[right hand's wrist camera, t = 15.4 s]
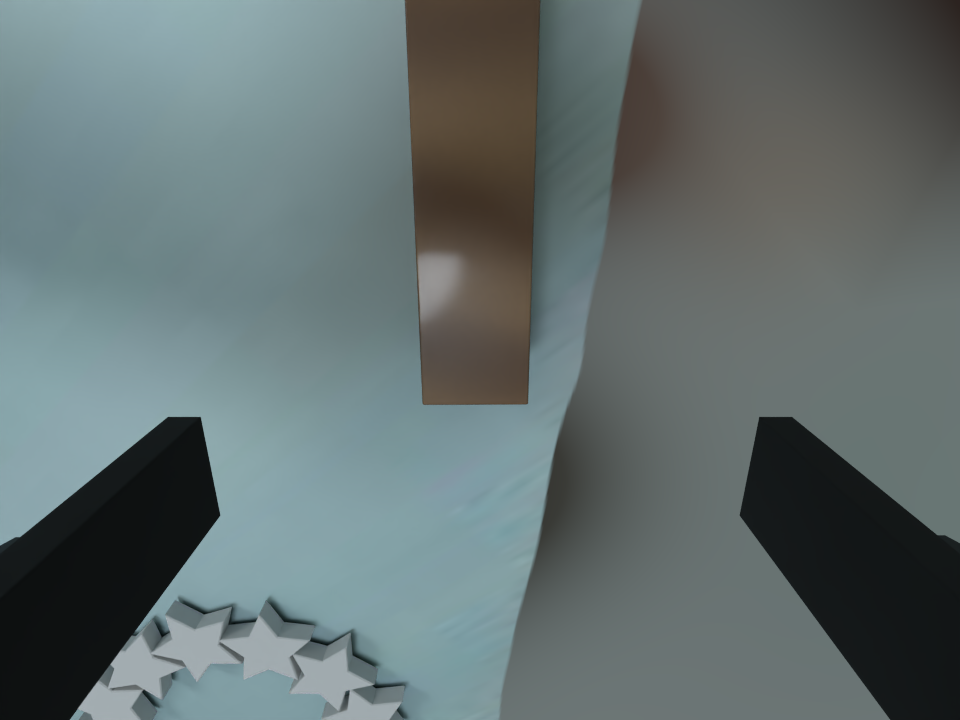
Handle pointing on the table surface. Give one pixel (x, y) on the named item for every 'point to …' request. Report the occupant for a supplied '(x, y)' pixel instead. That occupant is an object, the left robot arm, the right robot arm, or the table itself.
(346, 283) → the table surface
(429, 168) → the beam
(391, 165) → the table surface
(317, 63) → the table surface
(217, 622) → the decorative wreath
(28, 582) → the right robot arm
